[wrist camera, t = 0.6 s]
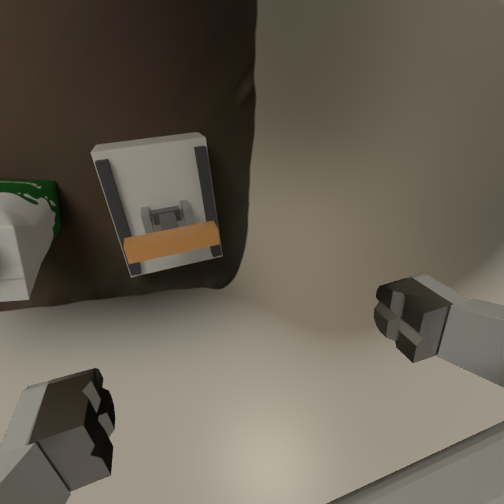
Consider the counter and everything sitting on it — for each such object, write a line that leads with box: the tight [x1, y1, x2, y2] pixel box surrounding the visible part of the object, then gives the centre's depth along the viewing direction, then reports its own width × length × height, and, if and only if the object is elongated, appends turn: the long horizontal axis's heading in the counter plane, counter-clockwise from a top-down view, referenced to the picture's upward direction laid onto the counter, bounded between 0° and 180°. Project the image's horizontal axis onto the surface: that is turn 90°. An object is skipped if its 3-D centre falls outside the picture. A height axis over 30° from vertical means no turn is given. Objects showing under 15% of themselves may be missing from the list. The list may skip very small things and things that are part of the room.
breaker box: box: [91, 132, 223, 277], centre depth 44 cm, size 18×14×10 cm
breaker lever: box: [124, 206, 220, 264], centre depth 38 cm, size 2×10×10 cm, turn 94°
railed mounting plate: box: [95, 145, 222, 276], centre depth 42 cm, size 16×13×1 cm
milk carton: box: [0, 178, 62, 302], centre depth 34 cm, size 9×9×20 cm
